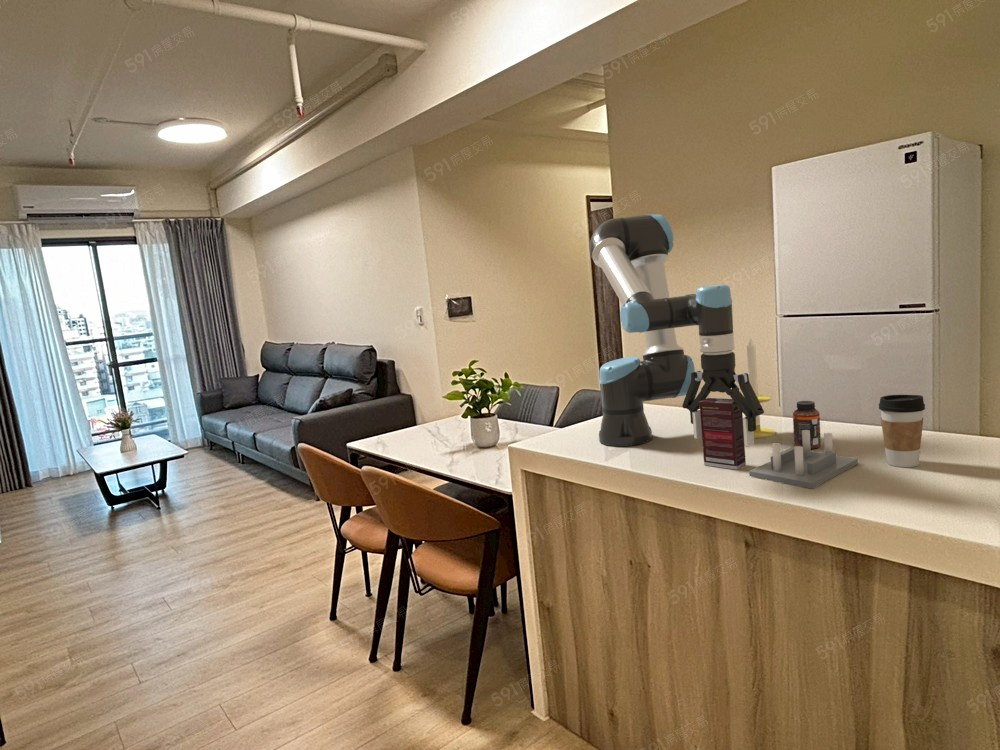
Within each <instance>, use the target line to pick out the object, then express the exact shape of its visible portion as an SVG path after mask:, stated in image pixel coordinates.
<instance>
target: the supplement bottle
mask: <svg viewBox="0 0 1000 750" xmlns="http://www.w3.org/2000/svg"><path fill="white" fill-rule="evenodd" d="M815 404H816V403H815V401H812V400H800V401H797V402H796V408H797V409H795V410H794V411H793V412H792V425H793V443H794V444H793V446H801V447H803V441H802V430H809V431H810V447H811V450H813V449H817V448H819V447H820V446H821V443H822V442H821V440H822V439H821V421H820V419H821V418H820V417H821V416H820V412H819V411H818V410H817V409H816V408H815V407H816V405H815Z"/></svg>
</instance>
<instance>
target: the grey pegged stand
mask: <svg viewBox="0 0 1000 750" xmlns="http://www.w3.org/2000/svg"><path fill="white" fill-rule="evenodd" d="M802 441H803V447H801V446H795V445H793V446H791V447H790V448H789V447H788V448H787V449H785V450H783V451H781V443H779V442H774V443H772V444H771V449H772V455H771V456H770V461H769V462H766V463H764V464H761V465H760V466H758V467H755V468H753V469H751V470H748V471H749V472H748V473H749V474H748V475H749V477H750V476H751V477H752V478H755V477H756V479H760V478H761V480H765V479H767V480H766V481H770V480H772V482H775V481H776V483H782V484H784V485H785V484H786V485H791V486H796V487H800V488H805V489H812V490H813V489H815V488H817V487H819V486H820V485H822V484H824V483H825V482H828V481H829V480H831V479H833V478H835V477H836V476H838V475H840V474H842V473H843V472H845V471H847V470H849V469H851V468H853V467H854V466H855V467H856V465H858V464H859V459H858V458H857V457H851V456H850V457H849V456H845V455H837V452H836V451H834V450H833V449H834V447H833V432H824V433H823V441H824V444H823V445H824V446H823V447H824V453H823V452H818V451H811V450H812V449H811V447H810V431H809V430H802ZM751 477H750V478H751Z"/></svg>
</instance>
